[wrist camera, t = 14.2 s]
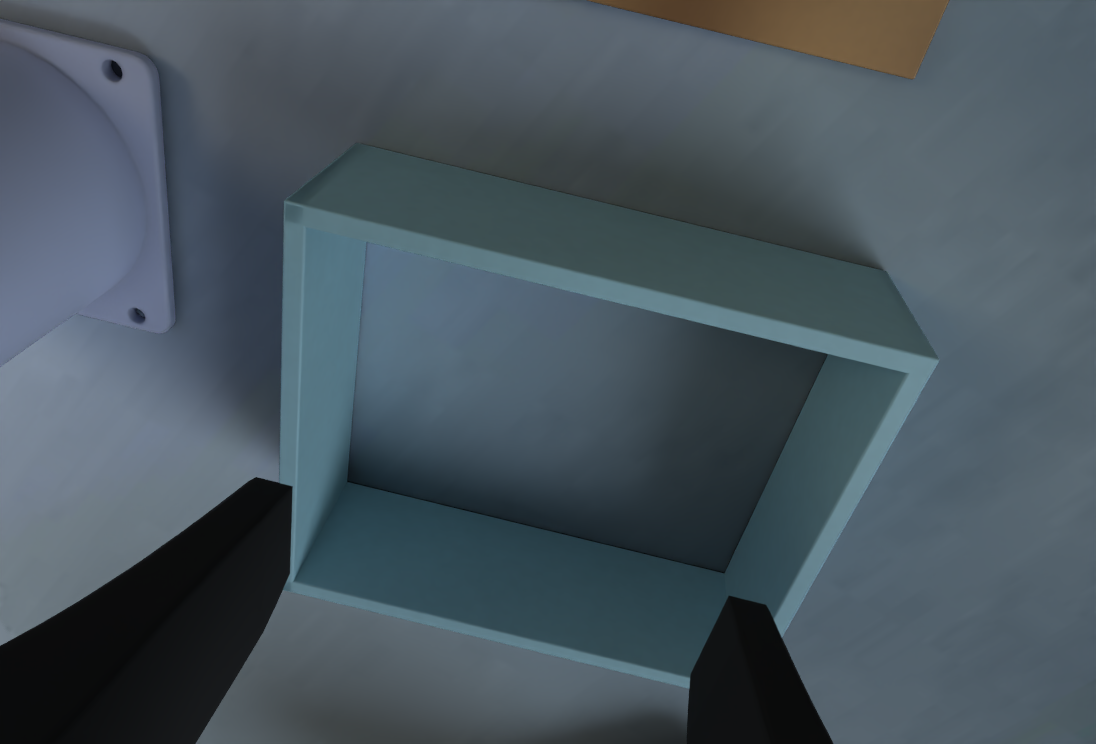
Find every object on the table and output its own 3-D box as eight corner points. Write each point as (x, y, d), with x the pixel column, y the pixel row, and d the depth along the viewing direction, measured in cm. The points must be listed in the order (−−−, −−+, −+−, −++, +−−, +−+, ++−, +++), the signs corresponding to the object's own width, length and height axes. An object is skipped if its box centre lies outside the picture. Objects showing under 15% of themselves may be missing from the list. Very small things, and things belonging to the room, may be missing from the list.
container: (332, 488, 26) (276, 589, 22) (356, 141, 20) (282, 200, 16) (733, 585, 26) (745, 703, 22) (887, 271, 20) (940, 359, 16)
